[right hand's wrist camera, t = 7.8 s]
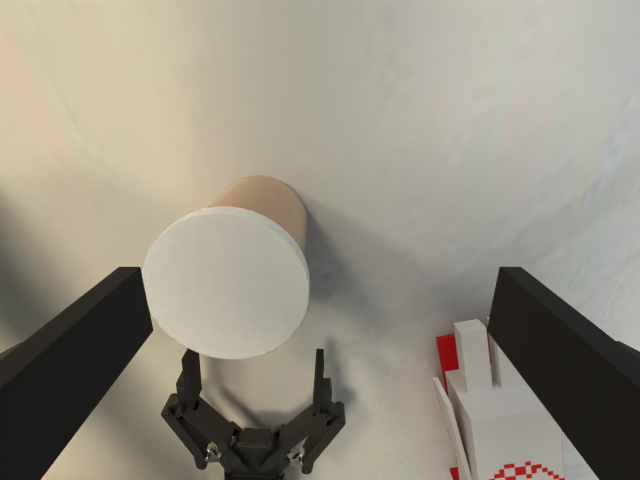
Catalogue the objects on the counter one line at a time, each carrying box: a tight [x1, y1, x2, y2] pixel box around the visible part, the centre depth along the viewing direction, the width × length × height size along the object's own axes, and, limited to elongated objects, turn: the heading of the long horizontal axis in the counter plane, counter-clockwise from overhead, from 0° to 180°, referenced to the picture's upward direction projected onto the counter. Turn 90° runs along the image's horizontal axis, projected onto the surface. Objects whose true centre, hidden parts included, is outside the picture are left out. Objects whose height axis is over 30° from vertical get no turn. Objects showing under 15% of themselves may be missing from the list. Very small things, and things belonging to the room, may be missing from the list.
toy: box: [433, 317, 564, 480], centre depth 41 cm, size 12×13×30 cm
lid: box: [142, 206, 310, 359], centre depth 23 cm, size 11×11×2 cm
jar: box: [206, 176, 308, 255], centre depth 30 cm, size 10×10×15 cm
